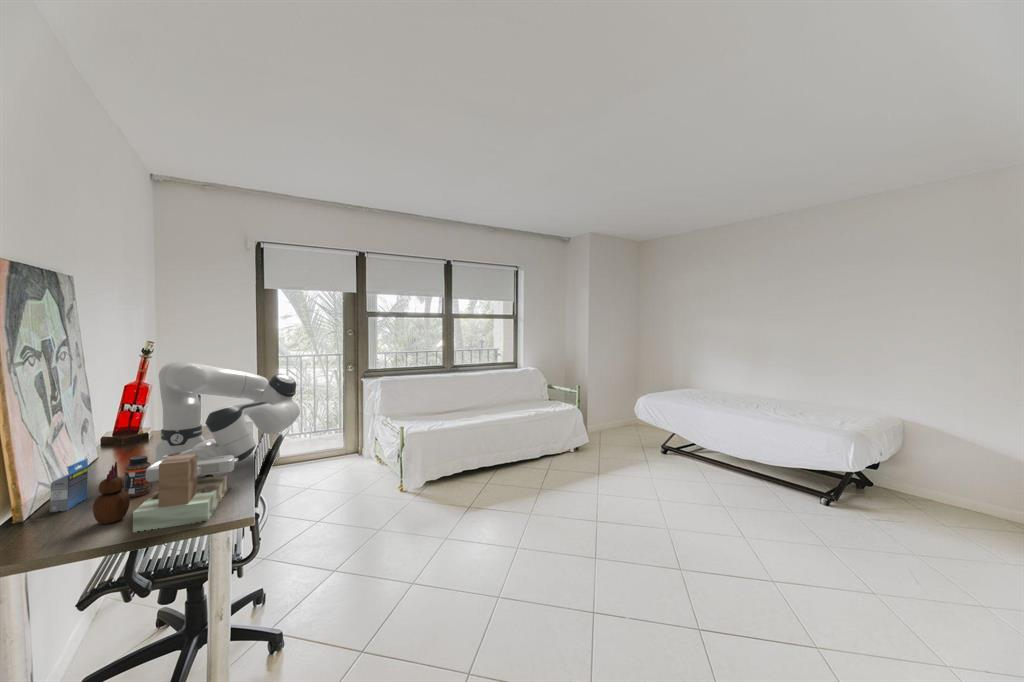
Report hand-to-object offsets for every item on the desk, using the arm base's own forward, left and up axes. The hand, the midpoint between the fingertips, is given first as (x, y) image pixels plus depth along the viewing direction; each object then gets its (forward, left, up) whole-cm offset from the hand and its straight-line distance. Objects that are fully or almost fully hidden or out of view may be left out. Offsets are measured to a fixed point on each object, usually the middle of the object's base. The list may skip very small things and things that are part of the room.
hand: (185, 476), depth 109 cm
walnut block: (+4, 0, -5) cm, 6 cm away
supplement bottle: (-22, -17, -10) cm, 30 cm away
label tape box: (-19, -31, -10) cm, 38 cm away
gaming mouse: (-20, 0, -11) cm, 23 cm away
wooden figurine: (-1, -16, -10) cm, 19 cm away
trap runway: (-3, -1, -10) cm, 10 cm away
